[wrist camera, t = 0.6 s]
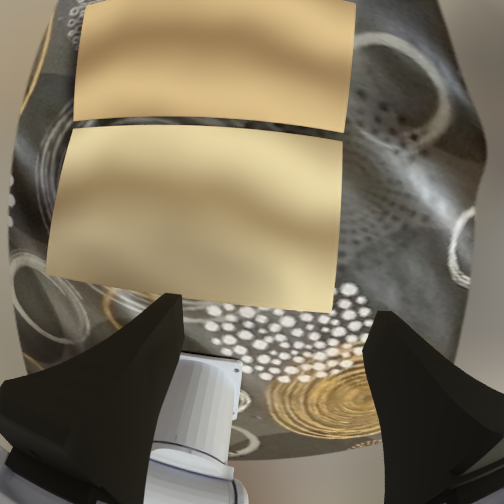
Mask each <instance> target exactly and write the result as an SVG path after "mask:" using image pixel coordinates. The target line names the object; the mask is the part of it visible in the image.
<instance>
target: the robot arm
mask: <svg viewBox="0 0 504 504" xmlns="http://www.w3.org/2000/svg"><path fill="white" fill-rule="evenodd" d="M183 341H184V325H183V308H182V295H181V294H173V293H164V294H163V295H162V296H161V297H159V298H158V299H157V300H156V301H155V302H153V303H152V304H151V305H150V306H149V307H148V308H146V309H145V310H144V311H143V312H142V313H140V314H139V315H138V316H137V317H135V318H134V319H133V320H132V321H131V322H129V323H128V324H127V325H125V326H124V327H123V328H121V329H120V330H118V331H117V332H116V333H114V334H113V335H112V336H110V337H109V338H107V339H106V340H104V341H103V342H101V343H99V344H98V345H96V346H94V347H93V348H91V349H89V350H87V351H85V352H84V353H82V354H80V355H77V356H75V357H73V358H71V359H69V360H67V361H65V362H63V363H61V364H58V365H56V366H53V367H51V368H48V369H45V370H42V371H39V372H36V373H33V374H30V375H26V376H22V377H18V378H15V379H10V380H5V381H4V382H3V384H2V385H1V387H0V433H1V435H2V436H3V437H4V438H5V439H6V440H7V441H8V442H9V443H10V444H11V445H12V446H13V448H12V450H11V452H10V453H9V452H8V451H7V450H5V449H4V448H3V447H1V446H0V504H249V502H248V495H247V492H246V490H245V488H244V486H243V484H242V483H241V481H240V480H238V479H235V478H233V471H234V468H233V467H231V466H227V459H228V451H229V442H230V433H231V425H232V420H235V419H237V411H238V402H239V394H240V385H241V376H242V367H243V363H242V362H241V361H239V360H233V359H225V358H217V357H209V356H202V355H195V354H188V353H182V352H181V350H182V346H183ZM362 353H363V360H364V366H365V372H366V376H367V380H368V383H369V387H370V390H371V394H372V397H373V400H374V404H375V408H376V411H377V415H378V418H379V423H380V427H381V434H382V442H383V451H384V464H385V498H384V504H504V394H503V393H501V392H498V391H496V390H494V389H492V388H490V387H488V386H487V385H485V384H483V383H481V382H479V381H478V380H476V379H474V378H473V377H471V376H470V375H468V374H466V373H465V372H464V371H462V370H461V369H460V368H458V367H457V366H455V365H454V364H453V363H451V362H450V361H449V360H448V359H446V358H445V357H444V356H443V355H441V354H440V353H439V352H438V351H437V350H435V349H434V348H433V347H432V346H431V345H430V344H429V343H427V342H426V341H425V340H424V339H423V338H422V337H421V336H420V335H419V334H417V333H416V332H415V331H414V330H413V329H412V328H411V327H410V326H409V325H408V324H406V323H405V322H404V321H403V320H402V319H401V318H400V317H398V316H397V315H396V314H395V313H393V312H392V311H377V314H376V317H375V319H374V322H373V325H372V327H371V330H370V333H369V335H368V338H367V340H366V343H365V345H364V347H363V350H362Z"/></svg>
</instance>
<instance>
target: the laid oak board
mask: <svg viewBox="0 0 504 504" xmlns="http://www.w3.org/2000/svg"><path fill="white" fill-rule="evenodd" d="M355 10H356V4H355V3H351V2H347V1H343V0H108V1H103V2H99V3H95V4H92V5H88V6H86V9H85V14H84V19H83V25H82V31H81V37H80V44H79V51H78V59H77V69H76V80H75V95H74V121H80V120H91V119H103V118H119V117H144V116H189V117H215V118H232V119H245V120H256V121H266V122H275V123H284V124H292V125H299V126H306V127H312V128H319V129H325V130H331V131H336V132H342V133H344V127H345V119H346V111H347V103H348V95H349V86H350V76H351V66H352V55H353V42H354V28H355Z"/></svg>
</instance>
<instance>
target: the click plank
mask: <svg viewBox="0 0 504 504" xmlns="http://www.w3.org/2000/svg"><path fill="white" fill-rule="evenodd" d="M341 186H342V142H341V141H336V140H330V139H324V138H318V137H311V136H305V135H298V134H290V133H282V132H274V131H265V130H254V129H243V128H230V127H215V126H192V125H126V126H105V127H90V128H78V129H73V132H72V135H71V138H70V142H69V145H68V149H67V152H66V156H65V160H64V164H63V168H62V172H61V176H60V180H59V185H58V190H57V194H56V199H55V205H54V210H53V216H52V222H51V229H50V236H49V243H48V252H47V261H46V272H45V275H50V276H55V277H60V278H65V279H70V280H76V281H81V282H86V283H92V284H97V285H103V286H109V287H115V288H121V289H127V290H133V291H139V292H146V293H152V294H159V295H163V294H164V293H173V294H181V295H182V298H188V299H195V300H203V301H211V302H220V303H228V304H237V305H246V306H256V307H266V308H276V309H287V310H298V311H311V312H324V313H331V312H332V304H333V295H334V286H335V276H336V265H337V254H338V241H339V226H340V209H341Z"/></svg>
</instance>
